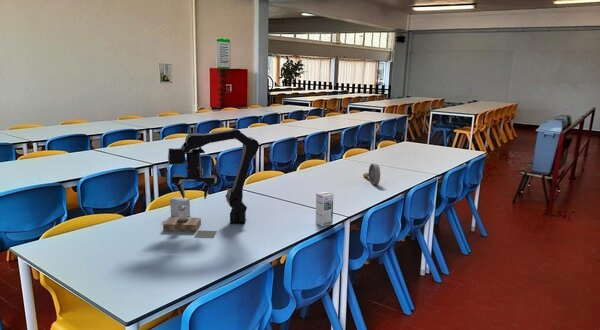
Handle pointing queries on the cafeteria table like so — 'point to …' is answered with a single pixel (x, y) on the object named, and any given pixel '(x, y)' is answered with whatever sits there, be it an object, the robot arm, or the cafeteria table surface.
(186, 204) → the medicine box
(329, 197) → the syrup box
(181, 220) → the pin
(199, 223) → the socket block
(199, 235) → the mat
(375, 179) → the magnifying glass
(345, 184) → the cafeteria table surface
